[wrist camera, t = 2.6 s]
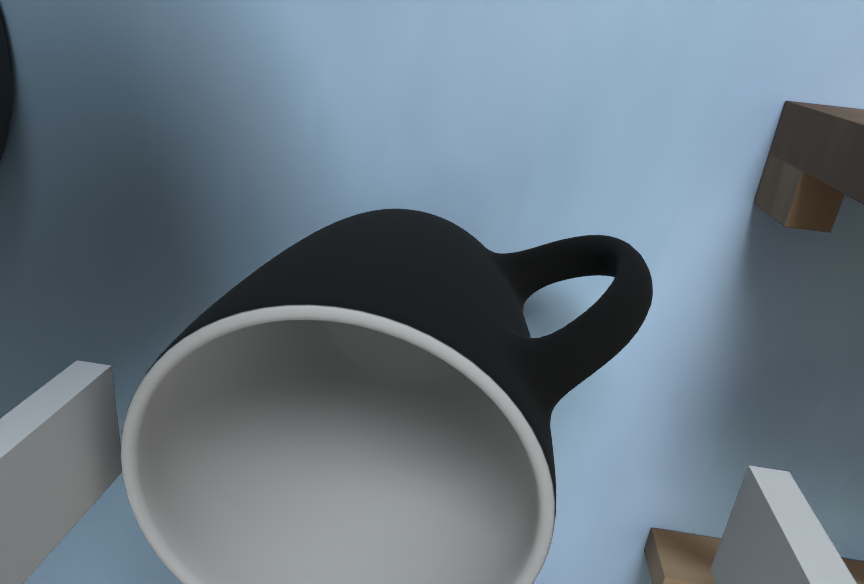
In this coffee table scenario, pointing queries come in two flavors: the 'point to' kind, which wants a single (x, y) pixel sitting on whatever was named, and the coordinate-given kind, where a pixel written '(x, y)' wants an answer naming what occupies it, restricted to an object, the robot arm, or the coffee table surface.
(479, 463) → the mug
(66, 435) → the robot arm
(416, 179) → the coffee table surface
